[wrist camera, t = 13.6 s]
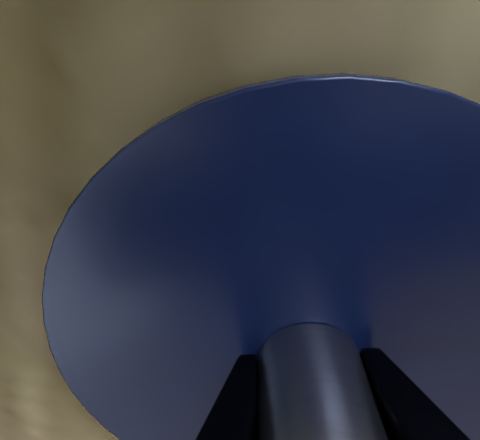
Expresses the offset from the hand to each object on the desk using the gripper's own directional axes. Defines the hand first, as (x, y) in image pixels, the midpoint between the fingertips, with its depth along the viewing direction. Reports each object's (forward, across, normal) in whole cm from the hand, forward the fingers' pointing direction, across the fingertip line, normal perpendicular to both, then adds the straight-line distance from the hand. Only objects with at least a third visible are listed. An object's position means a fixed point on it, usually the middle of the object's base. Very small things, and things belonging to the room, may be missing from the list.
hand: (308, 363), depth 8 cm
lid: (+1, 0, 0) cm, 1 cm away
